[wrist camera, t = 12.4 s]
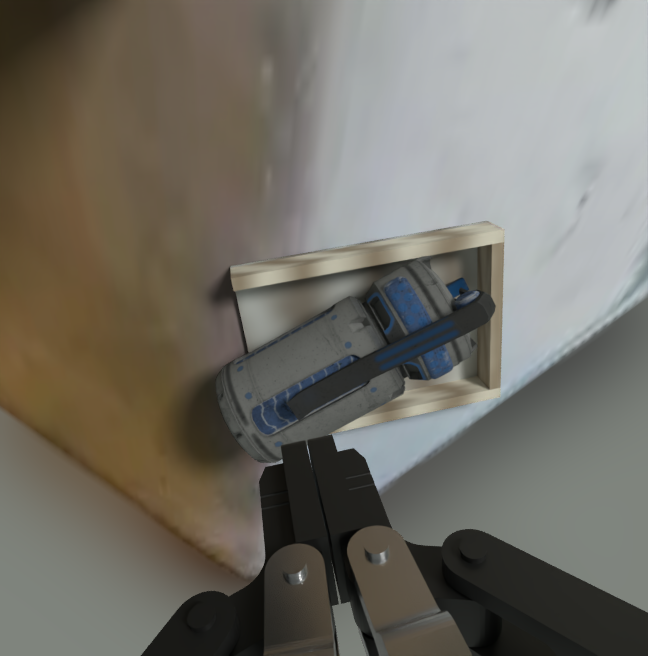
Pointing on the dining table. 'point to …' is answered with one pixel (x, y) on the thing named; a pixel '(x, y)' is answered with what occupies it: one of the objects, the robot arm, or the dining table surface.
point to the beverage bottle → (350, 359)
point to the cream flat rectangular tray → (355, 280)
